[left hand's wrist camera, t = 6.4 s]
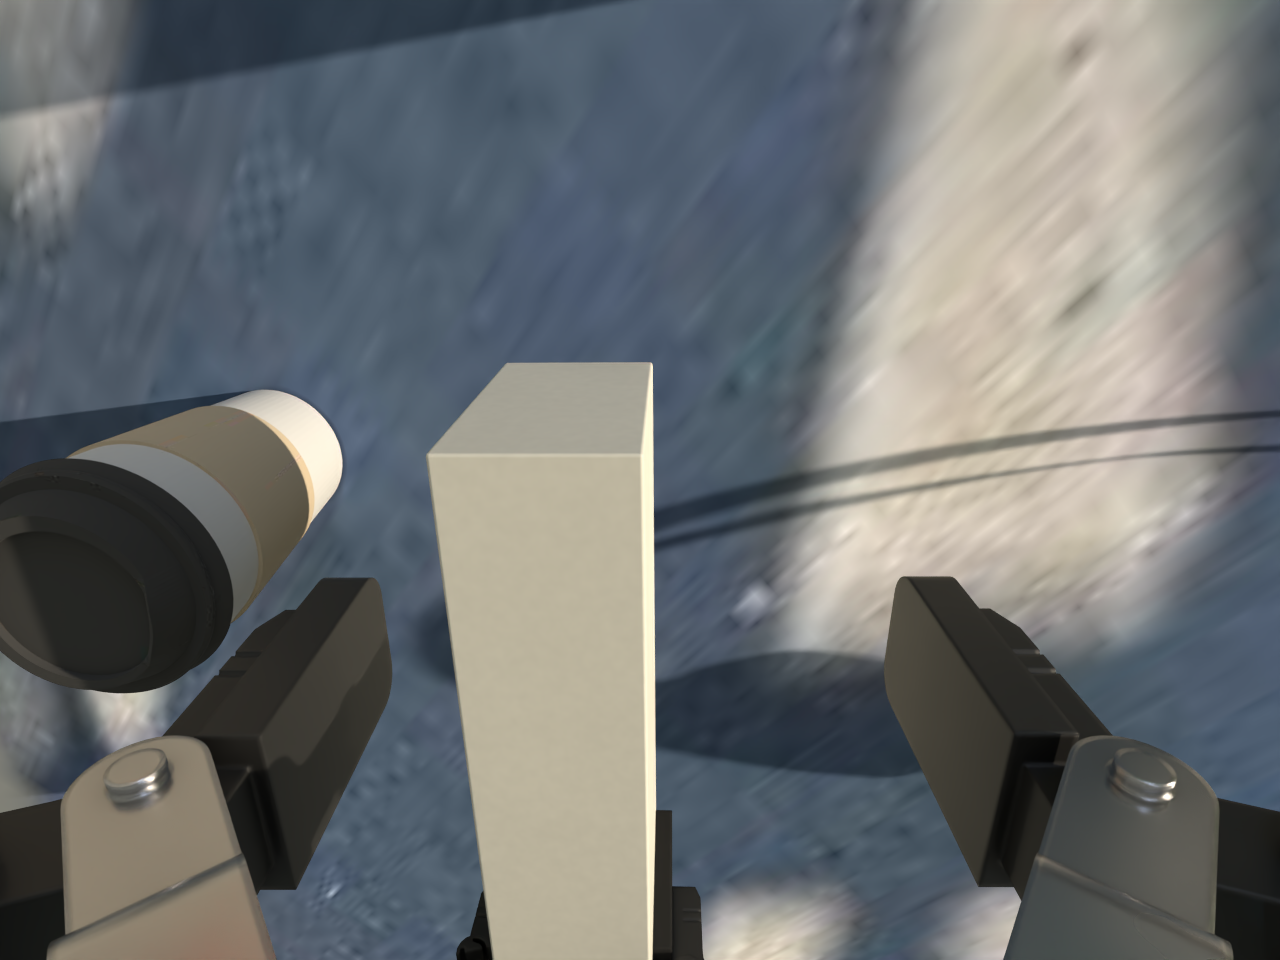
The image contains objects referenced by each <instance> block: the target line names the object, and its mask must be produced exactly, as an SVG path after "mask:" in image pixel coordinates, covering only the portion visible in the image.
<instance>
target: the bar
mask: <svg viewBox="0 0 1280 960" xmlns="http://www.w3.org/2000/svg"><path fill="white" fill-rule="evenodd" d="M426 460H427V468H428V475H429V483H430V490H431V498H432V505H433V513H434V520H435V528H436V535H437V543H438V551H439V558H440V566H441V573H442V581H443V588H444V596H445V603H446V611H447V618H448V626H449V634H450V641H451V649H452V656H453V664H454V671H455V679H456V686H457V694H458V701H459V709H460V717H461V724H462V732H463V739H464V747H465V754H466V762H467V769H468V777H469V784H470V792H471V800H472V807H473V815H474V822H475V830H476V837H477V845H478V852H479V860H480V867H481V875H482V883H483V890H484V898H485V905H486V913H487V920H488V928H489V935H490V943H491V950H492V958H493V960H653V906H654V862H655V819H656V761H655V630H654V498H653V366H652V363H650V362H624V363H507V364H505V365H504V366H503V368H502V369H501V370H500V371H499V372H498V373H497V374H496V376H495V377H494V378H493V379H492V380H491V381H490V382H489V384H488V385H487V386H486V387H485V388H484V389H483V390H482V392H481V393H480V394H479V395H478V396H477V397H476V398H475V400H474V401H473V402H472V403H471V404H470V405H469V406H468V408H467V409H466V410H465V411H464V412H463V413H462V414H461V415H460V417H459V418H458V419H457V420H456V421H455V422H454V423H453V425H452V426H451V427H450V428H449V429H448V430H447V431H446V433H445V434H444V435H443V436H442V437H441V438H440V439H439V441H438V442H437V443H436V444H435V445H434V446H433V447H432V449H431V450H430V451H429V452H428V453H427V455H426Z"/></svg>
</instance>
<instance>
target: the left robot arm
mask: <svg viewBox="0 0 1280 960" xmlns="http://www.w3.org/2000/svg"><path fill="white" fill-rule="evenodd" d="M884 678H885V687H886V692H887V696H888V699H889V702H890V704H891V707H892V709H893V711H894V713H895V715H896V717H897V719H898V721H899V723H900V725H901V727H902V729H903V731H904V734H905V736H906V738H907V740H908V742H909V744H910V746H911V748H912V750H913V752H914V754H915V756H916V758H917V760H918V763H919V765H920V767H921V769H922V771H923V773H924V775H925V777H926V779H927V781H928V783H929V785H930V787H931V790H932V792H933V794H934V796H935V798H936V800H937V802H938V804H939V806H940V808H941V810H942V812H943V814H944V816H945V819H946V821H947V823H948V825H949V827H950V829H951V831H952V833H953V835H954V837H955V839H956V841H957V843H958V845H959V848H960V850H961V852H962V854H963V856H964V858H965V860H966V862H967V864H968V866H969V868H970V870H971V872H972V875H973V877H974V879H975V881H976V883H977V885H978V887H1014V888H1015V890H1016V892H1017V893H1018V895H1019V897H1020V899H1021V904H1020V908H1019V911H1018V914H1017V917H1016V921H1015V924H1014V927H1013V930H1012V933H1011V937H1010V940H1009V943H1008V946H1007V950H1006V953H1005V956H1004V959H1003V960H1280V812H1278V811H1274V810H1269V809H1264V808H1260V807H1255V806H1251V805H1246V804H1242V803H1237V802H1233V801H1228V800H1224V799H1219V798H1217V797H1216V795H1215V793H1214V791H1213V790H1212V788H1211V787H1210V785H1209V784H1208V783H1207V782H1206V781H1205V780H1204V779H1203V777H1201V776H1200V775H1199V774H1198V773H1197V772H1196V771H1195V770H1194V769H1192V768H1191V767H1190V766H1188V765H1187V764H1185V763H1184V762H1183V761H1181V760H1179V759H1178V758H1176V757H1174V756H1173V755H1171V754H1169V753H1167V752H1165V751H1163V750H1161V749H1159V748H1156V747H1154V746H1151V745H1149V744H1146V743H1143V742H1140V741H1137V740H1133V739H1128V738H1124V737H1117V736H1113V735H1112V734H1111V733H1110V732H1109V731H1108V729H1107V728H1106V727H1105V726H1104V725H1103V724H1102V723H1101V721H1100V720H1099V719H1098V718H1097V717H1096V716H1095V714H1094V713H1093V712H1092V711H1091V710H1090V709H1089V707H1088V706H1087V705H1086V704H1085V703H1084V702H1083V700H1082V699H1081V698H1080V697H1079V696H1078V695H1077V693H1076V692H1075V691H1074V690H1073V689H1072V688H1071V686H1070V685H1069V684H1068V683H1067V682H1066V681H1065V679H1064V678H1063V677H1062V676H1061V675H1060V674H1056V672H1055V668H1054V667H1053V665H1052V664H1051V663H1050V662H1049V661H1048V660H1047V658H1046V657H1045V656H1044V655H1040V653H1039V649H1038V648H1037V647H1036V646H1035V644H1034V643H1033V642H1032V641H1031V640H1030V639H1029V638H1028V636H1027V635H1026V634H1025V633H1024V632H1023V631H1022V629H1021V628H1020V627H1018V626H1017V625H1015V624H1013V623H1012V622H1010V621H1009V620H1007V619H1006V618H1004V617H1002V616H1001V615H999V614H998V613H996V612H994V611H993V610H991V609H979V608H978V606H977V605H976V604H975V603H974V601H973V600H972V599H971V598H970V596H969V595H968V594H967V593H966V591H965V590H964V589H963V588H962V586H961V585H960V584H959V583H958V581H957V580H956V579H955V578H953V577H901V578H900V579H899V581H898V582H897V585H896V588H895V593H894V600H893V607H892V614H891V621H890V628H889V634H888V641H887V648H886V655H885V662H884ZM391 683H392V661H391V654H390V648H389V641H388V634H387V627H386V621H385V614H384V607H383V601H382V594H381V589H380V586H379V584H378V582H377V580H376V579H375V578H323V579H321V580H320V581H319V582H318V584H317V585H316V586H315V587H314V588H313V590H312V591H311V592H310V593H309V595H308V596H307V597H306V598H305V600H304V601H303V602H302V603H301V605H300V606H299V607H298V608H297V609H296V610H285V611H283V612H282V613H280V614H278V615H277V616H275V617H274V618H272V619H271V620H269V621H267V622H266V623H264V624H263V625H261V626H259V627H258V628H256V629H255V630H254V631H253V632H252V633H251V635H250V636H249V637H248V638H247V639H246V640H245V642H244V643H243V644H242V645H241V646H240V647H239V648H238V650H237V651H236V655H235V656H232V657H231V658H230V659H229V660H228V661H227V662H226V663H225V665H224V666H223V667H222V668H221V669H220V670H219V676H214V677H213V678H212V680H211V681H210V682H209V683H208V684H207V685H206V687H205V688H204V689H203V690H202V691H201V692H200V693H199V695H198V696H197V697H196V698H195V699H194V700H193V702H192V703H191V704H190V705H189V706H188V707H187V708H186V710H185V711H184V712H183V713H182V714H181V715H180V717H179V718H178V719H177V720H176V721H175V722H174V723H173V725H172V726H171V727H170V728H169V729H168V730H167V732H166V733H165V734H164V735H163V736H162V737H156V738H152V739H147V740H143V741H140V742H137V743H134V744H131V745H129V746H126V747H124V748H121V749H119V750H117V751H115V752H113V753H111V754H109V755H107V756H106V757H104V758H102V759H101V760H99V761H97V762H96V763H95V764H93V765H92V766H90V767H89V768H88V769H86V770H85V771H84V772H83V773H82V774H81V775H80V776H79V777H77V779H76V780H75V781H74V782H73V783H72V784H71V785H70V787H69V788H68V790H67V791H66V793H65V795H64V797H63V799H60V800H56V801H52V802H48V803H43V804H39V805H34V806H30V807H25V808H21V809H16V810H12V811H7V812H3V813H0V960H277V959H276V956H275V953H274V950H273V946H272V943H271V940H270V937H269V933H268V930H267V927H266V924H265V921H264V917H263V914H262V911H261V908H260V904H259V901H258V898H257V894H258V893H259V891H260V890H296V889H297V887H298V885H299V883H300V880H301V878H302V876H303V874H304V872H305V870H306V868H307V866H308V864H309V862H310V860H311V858H312V856H313V854H314V852H315V850H316V848H317V846H318V844H319V842H320V840H321V837H322V835H323V833H324V831H325V829H326V827H327V825H328V823H329V821H330V819H331V817H332V815H333V813H334V811H335V809H336V807H337V805H338V803H339V801H340V799H341V797H342V794H343V792H344V790H345V788H346V786H347V784H348V782H349V780H350V778H351V776H352V774H353V772H354V770H355V768H356V766H357V764H358V762H359V760H360V758H361V756H362V754H363V751H364V749H365V747H366V745H367V743H368V741H369V739H370V737H371V735H372V733H373V731H374V729H375V727H376V725H377V723H378V721H379V719H380V717H381V715H382V713H383V710H384V708H385V706H386V704H387V701H388V698H389V694H390V690H391Z"/></svg>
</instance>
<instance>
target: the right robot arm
mask: <svg viewBox="0 0 1280 960" xmlns="http://www.w3.org/2000/svg"><path fill="white" fill-rule="evenodd" d="M456 956H457V960H493V958H492V950H491V943H490V935H489V928H488V920H487V913H486V905H485V898H484V890H483V892H482V893H481V897H480V900H479V904H478V908H477V912H476V917H475V920H474V923H473V927H472V931H471V935H470V936H469V937H467V938H465V939H464V940H463V941H462V942H461V943H460V945H459V946H458V948H457V953H456ZM653 960H704V958H703V949H702V925H701V901H700V896H699V894H698V892H697V890H696V888H695V887H675V886H672V811H669V810H656V819H655V862H654V906H653Z"/></svg>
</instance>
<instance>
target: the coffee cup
mask: <svg viewBox="0 0 1280 960" xmlns="http://www.w3.org/2000/svg"><path fill="white" fill-rule="evenodd" d="M341 474H342V455H341V450H340V446H339V443H338V440H337V438H336V436H335V434H334V432H333V430H332V429H331V427H330V426H329V424H328V423H327V422H326V420H325V419H324V418H323V417H322V416H321V415H320V414H319V413H318V412H317V411H316V410H315V409H314V408H313V407H311V406H310V405H309V404H307V403H306V402H304V401H302V400H301V399H299V398H297V397H295V396H292V395H290V394H287V393H284V392H280V391H274V390H255V391H250V392H247V393H244V394H241V395H238V396H236V397H233V398H230V399H227V400H225V401H222V402H219V403H216V404H214V405H211V406H203V407H198V408H194V409H191V410H188V411H185V412H182V413H179V414H177V415H174V416H171V417H168V418H165V419H162V420H160V421H157V422H154V423H151V424H148V425H146V426H143V427H140V428H137V429H134V430H131V431H129V432H126V433H123V434H120V435H117V436H114V437H112V438H109V439H106V440H103V441H100V442H98V443H95V444H92V445H89V446H86V447H84V448H82V449H79V450H78V451H76V452H74V453H72V454H71V455H69V456H68V457H67V458H63V459H51V460H45V461H40V462H37V463H33V464H30V465H27V466H25V467H23V468H21V469H19V470H17V471H15V472H13V473H12V474H10V475H9V476H7V477H6V478H5V479H3V480H2V481H1V482H0V651H1V652H2V653H3V654H5V655H6V656H7V657H8V658H9V659H11V660H12V661H13V662H15V663H16V664H17V665H19V666H20V667H22V668H23V669H25V670H27V671H28V672H30V673H32V674H34V675H36V676H38V677H40V678H42V679H45V680H47V681H50V682H52V683H55V684H58V685H62V686H66V687H70V688H76V689H85V690H95V691H101V692H108V693H136V692H144V691H149V690H153V689H157V688H160V687H163V686H165V685H167V684H170V683H172V682H173V681H175V680H177V679H178V678H180V677H181V676H183V675H184V674H185V673H186V672H188V671H189V670H190V669H192V668H194V667H196V666H198V665H199V664H201V663H202V662H204V661H205V660H206V659H208V658H209V657H210V656H211V655H212V654H213V653H214V652H215V651H216V650H217V648H218V647H219V646H220V644H221V643H222V641H223V640H224V638H225V636H226V634H227V632H228V629H229V626H230V623H232V622H233V621H235V620H236V619H237V618H239V617H240V616H241V615H242V614H243V613H244V612H245V611H246V610H247V609H248V607H249V606H250V605H251V604H252V602H253V601H254V600H255V598H256V597H257V596H258V594H259V593H260V592H261V590H262V589H263V588H264V587H265V585H266V584H267V583H268V581H269V580H270V579H271V577H272V576H273V575H274V573H275V572H276V571H277V570H278V568H279V567H280V566H281V564H282V563H283V562H284V560H285V559H286V558H287V557H288V555H289V554H290V553H291V551H292V550H293V549H294V547H295V546H296V545H297V543H298V542H299V541H300V540H301V538H302V537H303V536H304V534H305V533H306V531H307V529H308V527H309V525H310V523H311V522H312V520H313V519H314V518H315V517H316V515H317V514H318V513H319V511H320V510H321V509H322V508H323V506H324V505H325V504H326V503H327V501H328V500H329V499H330V498H331V496H332V495H333V494H334V492H335V491H336V489H337V487H338V485H339V482H340V479H341Z"/></svg>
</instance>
